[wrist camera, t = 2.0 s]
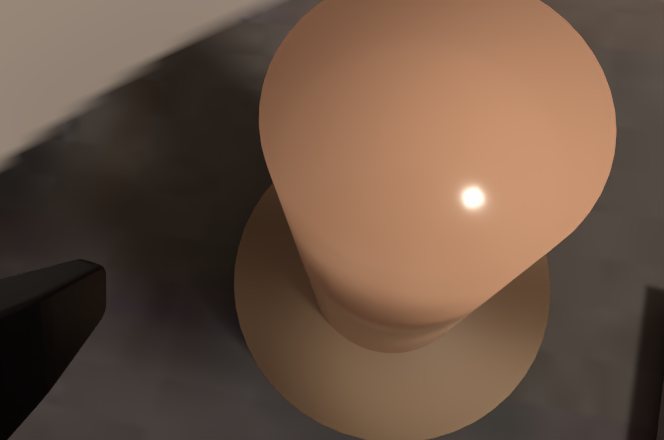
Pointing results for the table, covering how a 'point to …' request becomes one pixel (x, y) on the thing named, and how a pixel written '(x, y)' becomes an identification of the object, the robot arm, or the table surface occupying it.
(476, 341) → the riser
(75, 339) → the robot arm
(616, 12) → the table surface
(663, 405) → the mat
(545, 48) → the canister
